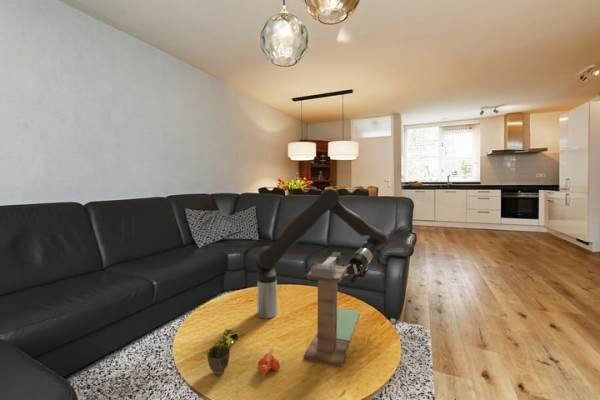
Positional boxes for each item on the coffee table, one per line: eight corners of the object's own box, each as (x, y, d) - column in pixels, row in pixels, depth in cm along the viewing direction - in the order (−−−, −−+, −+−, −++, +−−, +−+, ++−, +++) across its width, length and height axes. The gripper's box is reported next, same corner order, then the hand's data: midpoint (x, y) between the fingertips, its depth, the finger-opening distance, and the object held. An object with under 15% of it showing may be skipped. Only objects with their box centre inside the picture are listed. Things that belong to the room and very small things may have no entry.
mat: (332, 308, 146) (332, 307, 146) (360, 313, 141) (360, 311, 141) (316, 336, 121) (316, 334, 121) (349, 342, 116) (349, 340, 116)
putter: (328, 258, 124) (328, 251, 124) (346, 260, 121) (346, 253, 121) (310, 276, 102) (310, 267, 101) (332, 278, 99) (332, 270, 99)
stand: (315, 338, 119) (315, 263, 117) (348, 345, 114) (349, 267, 112) (303, 358, 106) (303, 274, 104) (341, 367, 101) (342, 278, 99)
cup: (224, 382, 94) (223, 358, 93) (203, 378, 95) (202, 356, 95) (233, 367, 101) (233, 345, 101) (214, 364, 103) (214, 343, 102)
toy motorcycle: (225, 325, 123) (241, 326, 122) (225, 334, 123) (241, 335, 122) (213, 341, 111) (230, 343, 110) (213, 350, 111) (230, 352, 110)
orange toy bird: (266, 342, 106) (257, 363, 95) (285, 350, 106) (278, 372, 94) (262, 354, 107) (252, 376, 95) (280, 362, 106) (273, 385, 94)
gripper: (345, 252, 136) (327, 273, 125) (371, 252, 126) (353, 274, 115) (351, 265, 138) (333, 287, 127) (377, 266, 128) (360, 290, 117)
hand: (343, 281), depth 121 cm, fingers open, 8 cm apart
